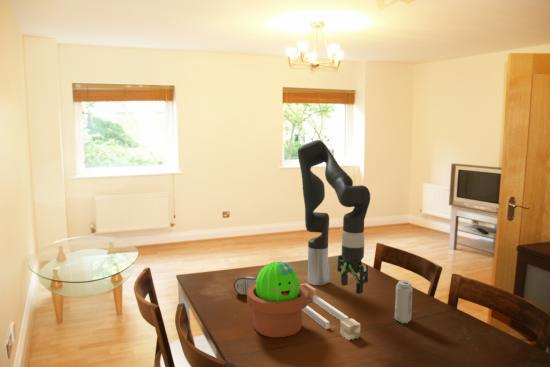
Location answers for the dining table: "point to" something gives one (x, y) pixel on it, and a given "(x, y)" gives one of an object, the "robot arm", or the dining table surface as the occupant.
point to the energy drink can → (403, 301)
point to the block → (350, 329)
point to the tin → (244, 283)
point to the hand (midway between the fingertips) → (351, 289)
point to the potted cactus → (277, 300)
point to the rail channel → (322, 304)
